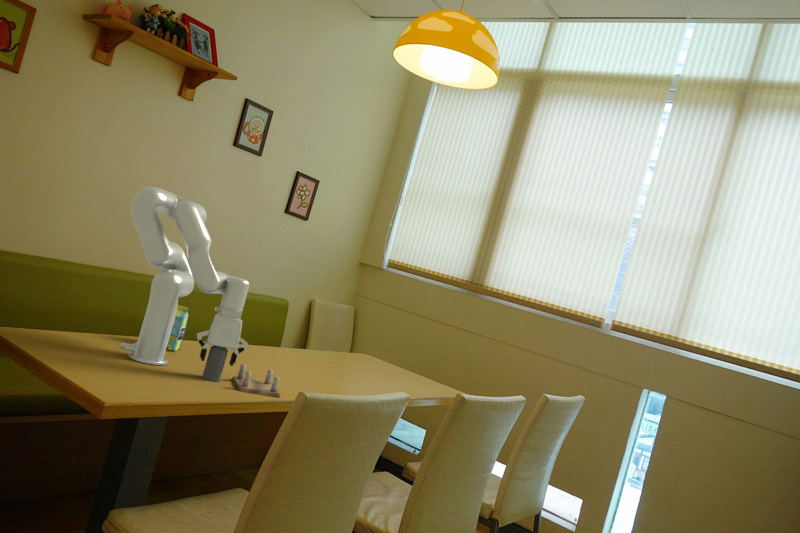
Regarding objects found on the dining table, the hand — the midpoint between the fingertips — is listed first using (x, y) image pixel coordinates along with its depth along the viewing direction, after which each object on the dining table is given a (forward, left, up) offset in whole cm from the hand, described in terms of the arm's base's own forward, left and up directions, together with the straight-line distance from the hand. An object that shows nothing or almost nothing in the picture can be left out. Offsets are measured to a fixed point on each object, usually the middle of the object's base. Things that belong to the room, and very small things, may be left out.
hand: (216, 362), depth 208 cm
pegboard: (+15, -2, -6) cm, 16 cm away
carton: (-12, +36, -6) cm, 39 cm away
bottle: (0, 0, -6) cm, 6 cm away
